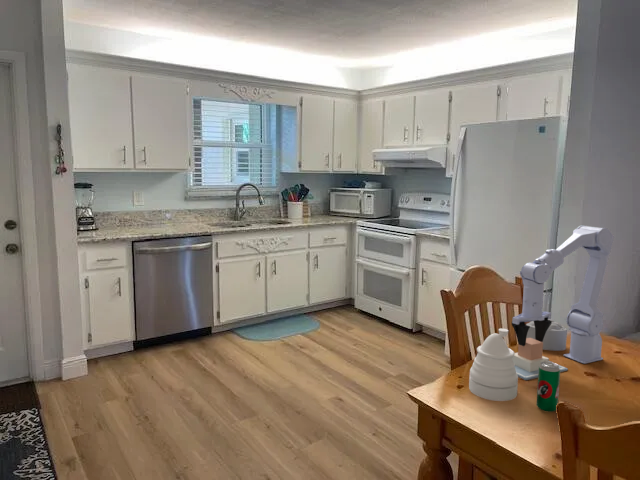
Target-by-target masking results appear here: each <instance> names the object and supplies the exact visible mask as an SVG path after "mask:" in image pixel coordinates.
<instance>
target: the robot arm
mask: <svg viewBox="0 0 640 480" xmlns="http://www.w3.org/2000/svg"><path fill="white" fill-rule="evenodd" d="M614 239H615V236H614V234H613V232H612V231H611V229H610V228H608V227H597V226H590V225H583V224H581V225H579V226H578V227H576V228H575V229H573V230H572V235H571V236H569V237H568V238H567V239H566V240H565V241H563V242H562V243H561V244H560V245H559V246H558V247H557V248H556V249H555V248H550V249H546V250H545V252H544V253H543V254H542V255H539V256H538V257H537V258H535V259H534V260H533V261H532V262H526V263H525V264H524V265H523V266H522V268H521V269H520V271H519V275H520V277H521V280H522V285H523V291H522V292H523V294H522V295H523V296H522V311H521V313H520V314H517V315H516V316H513V317H512V320H511V326H512V328H513V330H514V332H515V335H516V336H515V337H516V340H517V343H518V344H519V345H522V346H525V344H526V337H527V333H528V330H529V328H530V326H527V325H526V324H527V323H530V322H531V321H534V325H535V339H536V340H538V341H540V342H543V339H544V336H545V334H546V331H547V329H548V328H549V326H550V325H551V324H552V321H550V320H548V319H551V320H552V317H551V316H552V312H548V311H543V306H544V305H543V304H544V289H545V283H546V282H547V281H548V280H549V278H550V275H552V273H553V272H554V271H555V270H556V269H557V268H560V266H562V264H564V261H565V258H566V257H568V256H569V255H571V254H572V253H573V252H575V251H577V250H578V249H579V248H582V249H583V250H585V251H586V252H587V253H588V255H589V257H588V258H589V260H588V264H587V266H586V267H587V268H586V271H585V274H584V275H585V276H584V278H583V279H584V280H583V284H582V287H581V292H580V295H579V300H578V302H576V303H574V304H572V305H571V307H570V310H569V312H568V313H567V315H566V319H565V321H566V324H567V326H568V327H569V330H570V331H571V332H570V343H569V353H564V354H563V357H565V358H568V359H570V360H573V361H576V362H578V363H580V364H583V365H584V364H589V363H594V362H597V361H602V360H604V357H602V346H603V338H602V336H601V334H600V333H601V332H602V330H603V328H604V321H603V320H604V313H603V311H602V310H601V309H600V307H599V306H598V304H599V299H600V295H601V291H602V288H603V283H604V280H605V275H606V271H607V267H608V264H609V263H608V262H609V260H610V256H611V251H612V248H613V243H614Z"/></svg>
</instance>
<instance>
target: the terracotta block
mask: <svg viewBox="0 0 640 480" xmlns="http://www.w3.org/2000/svg"><path fill="white" fill-rule="evenodd" d="M517 346H518V347H517V352H518V355H519V356H522V357H524V358H526V359H529V360H534V359H539V358H542V356H543V350H544V349H543V342H540V341H538V340H535V339H532V338H526V344H525V346H522V345H519V344H518V345H517Z"/></svg>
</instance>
